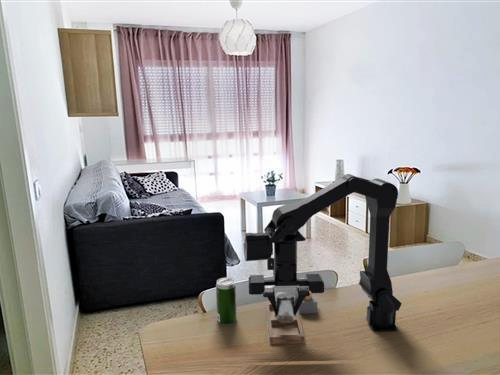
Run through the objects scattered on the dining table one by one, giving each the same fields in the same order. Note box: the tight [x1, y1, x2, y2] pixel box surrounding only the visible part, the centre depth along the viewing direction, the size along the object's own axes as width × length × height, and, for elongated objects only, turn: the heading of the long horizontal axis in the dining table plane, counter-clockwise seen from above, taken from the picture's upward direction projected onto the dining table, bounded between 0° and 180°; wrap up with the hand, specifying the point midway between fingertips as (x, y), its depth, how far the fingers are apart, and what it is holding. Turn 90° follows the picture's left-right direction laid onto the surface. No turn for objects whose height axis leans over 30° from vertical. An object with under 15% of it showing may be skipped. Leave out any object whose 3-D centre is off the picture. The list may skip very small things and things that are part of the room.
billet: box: [277, 292, 295, 323], centre depth 99 cm, size 4×4×6 cm
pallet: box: [265, 302, 306, 345], centre depth 105 cm, size 9×18×2 cm, turn 0°
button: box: [304, 291, 313, 301], centre depth 111 cm, size 3×3×2 cm
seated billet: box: [274, 291, 287, 317], centre depth 108 cm, size 4×4×6 cm
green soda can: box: [215, 277, 238, 326], centre depth 106 cm, size 5×5×12 cm
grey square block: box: [298, 293, 318, 315], centre depth 112 cm, size 5×5×4 cm
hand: (285, 314), depth 99 cm, fingers closed on billet, 4 cm apart
